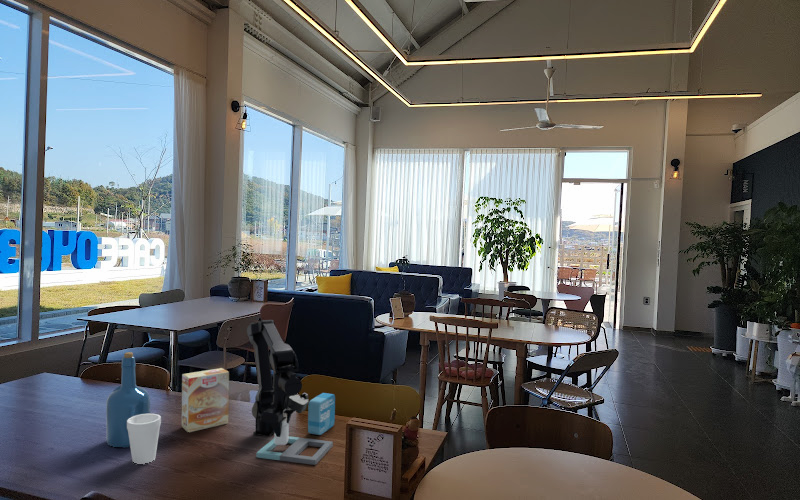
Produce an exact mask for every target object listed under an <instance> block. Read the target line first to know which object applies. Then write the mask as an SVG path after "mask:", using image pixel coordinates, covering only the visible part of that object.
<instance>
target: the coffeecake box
mask: <svg viewBox="0 0 800 500" xmlns="http://www.w3.org/2000/svg"><path fill="white" fill-rule="evenodd" d="M229 384H230V371H228V370H227V369H225V368H223V367H219V368H214V369H206V370H201V371H194V372H193V371H192V372H189V373H182V374H181V428H183V429H184V430H185V431H186V432H187V433H188V432H189V433H193V432H196V431H200V430H204V429H208V428H213V427H218V426H223V425H226V424H229V402H230V401H229V398H230V397H229V393H230V392H229V391H230V390H229V388H230V386H229Z"/></svg>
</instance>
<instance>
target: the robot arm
mask: <svg viewBox="0 0 800 500" xmlns="http://www.w3.org/2000/svg"><path fill="white" fill-rule="evenodd" d="M275 323H276V322H275V321H274V320H273V319H265V320H264V319H263V320H262V319H261V320H260V321H258V322H252V323H251V322H250V324H249V325H248V326H247V327H246V328H247V329H246V334H247V336H248V339H249V343H251V345H252V346H253V348H254V352H255V361H256V362H255V363H256V370H257V380H258V390H257V393H256V395H255V398H254V399H255V401H254V402H253V405H252V407H251V415H252V416H253V418H255V430H254V431H253V433H252V434H253V435H257V436H265V437H270V436H272V435H273V434H274V435H275V434H276V436H277V437H280V435H281V429H282V422H283V421H284V420H285V419H286V417H283V413H286V414H287V423H288V424H289V425H290V420H291V417H292V414H294V413H295V412H296V413H298V414H302V413H303V412H304V411H306V410H307V407H308V404H309V401H310V400H309V394H308V393H306V392H303V393H302V394H301V395H300V394H299V393H301V391H302V388H303V383H302V381H301V379H300V378H298V377H297V373H295V372H299V371H300V369H299V367H300V364H299V361H298V358H297V354H296V352H295V351H294V350H293V348H292V347H291V346H290V344H288V343H285V342H284V341H283V338H282V337H281V335H280V333H279V330H278V329H277V327H276V324H275ZM269 350H270V352H269ZM272 372H273V376H272ZM272 377H273V379H272Z"/></svg>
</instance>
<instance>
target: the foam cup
mask: <svg viewBox="0 0 800 500" xmlns="http://www.w3.org/2000/svg"><path fill="white" fill-rule="evenodd" d="M161 424H162V416H161V415H160V414H156V413H150V414H140V415H136V416H133V417H131V418H129V419H128V420H127V429H128V434H129V441H130V447H129V448H130V453H131V454H130V455H131V461H132V463H133V462H134V463H137V464H143V465H146V464H145V463H148V464H150V463H149V462H151V463H153V462H154V461H155V459H156V455H157V449H158V442H159V435H160V427H161ZM153 460H154V461H153ZM152 461H153V462H152ZM134 463H133V464H134ZM137 464H136V465H137Z"/></svg>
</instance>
